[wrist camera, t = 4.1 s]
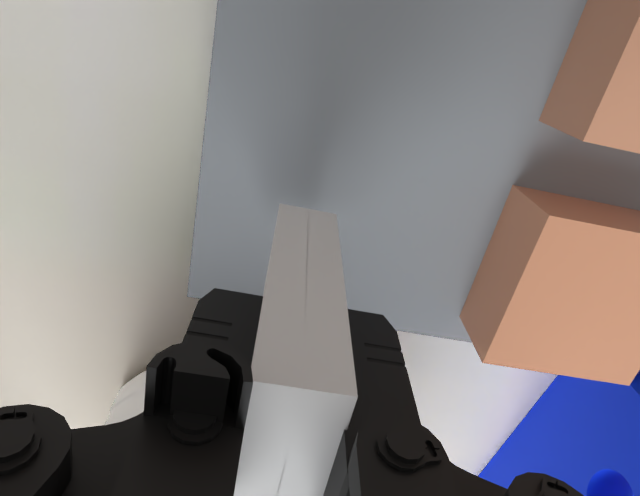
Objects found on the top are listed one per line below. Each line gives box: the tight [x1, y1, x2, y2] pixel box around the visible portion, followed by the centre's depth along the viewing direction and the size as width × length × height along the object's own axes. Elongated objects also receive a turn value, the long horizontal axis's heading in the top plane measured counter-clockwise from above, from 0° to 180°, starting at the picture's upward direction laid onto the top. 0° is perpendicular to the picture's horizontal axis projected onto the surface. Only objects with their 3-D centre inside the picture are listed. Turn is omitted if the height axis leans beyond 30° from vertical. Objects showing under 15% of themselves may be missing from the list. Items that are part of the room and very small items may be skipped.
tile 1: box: [459, 185, 640, 386], centre depth 15 cm, size 5×5×2 cm
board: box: [187, 0, 640, 342], centre depth 16 cm, size 22×14×2 cm, turn 78°
